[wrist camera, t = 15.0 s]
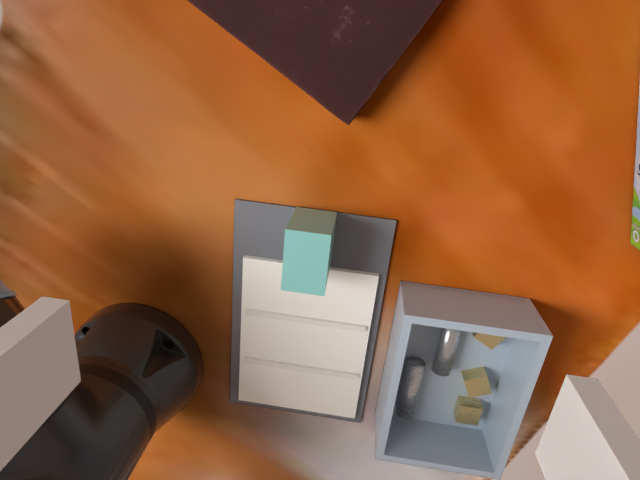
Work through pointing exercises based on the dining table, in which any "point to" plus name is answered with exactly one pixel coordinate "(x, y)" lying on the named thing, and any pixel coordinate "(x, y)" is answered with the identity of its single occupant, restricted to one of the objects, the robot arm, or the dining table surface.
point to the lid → (305, 322)
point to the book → (326, 41)
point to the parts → (474, 378)
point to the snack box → (636, 190)
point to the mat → (348, 253)
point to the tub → (459, 378)
